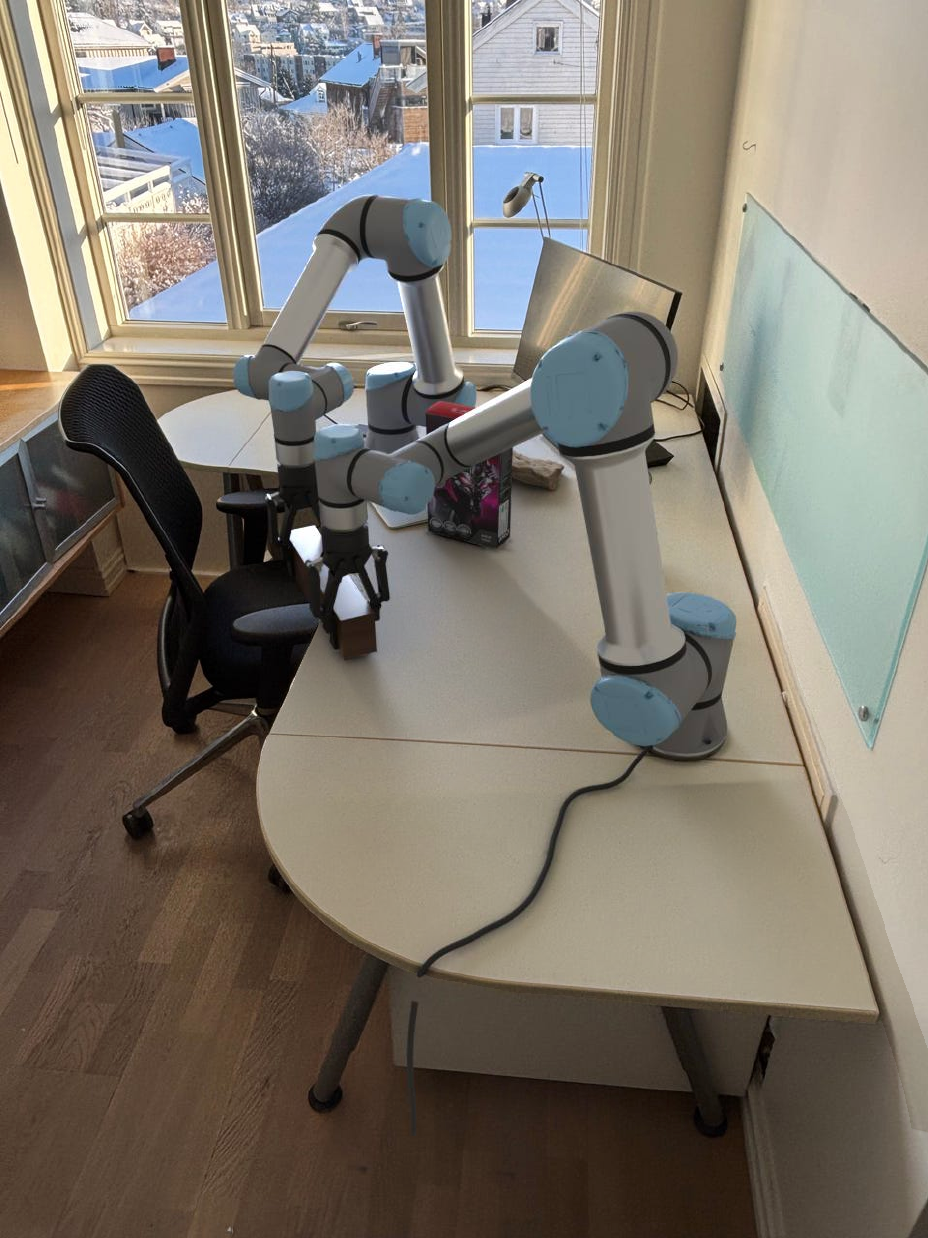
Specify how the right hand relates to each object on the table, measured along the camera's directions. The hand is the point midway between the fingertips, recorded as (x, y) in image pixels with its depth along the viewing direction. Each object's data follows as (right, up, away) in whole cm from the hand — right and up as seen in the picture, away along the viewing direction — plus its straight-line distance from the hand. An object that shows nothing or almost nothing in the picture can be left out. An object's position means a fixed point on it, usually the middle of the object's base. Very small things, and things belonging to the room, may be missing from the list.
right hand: (352, 640), depth 159 cm
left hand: (-11, +13, +20) cm, 26 cm away
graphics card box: (+20, +21, +36) cm, 46 cm away
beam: (-5, +6, +10) cm, 13 cm away
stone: (+32, +37, +60) cm, 77 cm away
